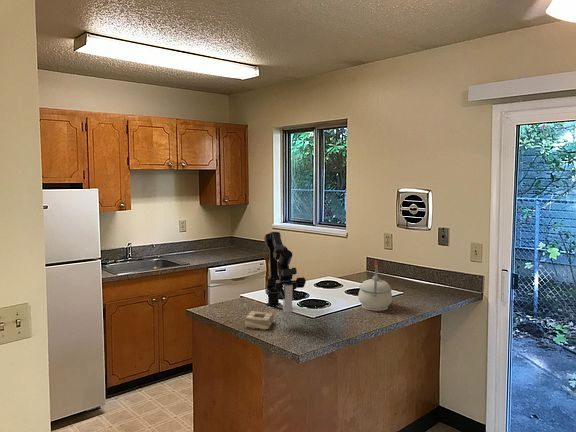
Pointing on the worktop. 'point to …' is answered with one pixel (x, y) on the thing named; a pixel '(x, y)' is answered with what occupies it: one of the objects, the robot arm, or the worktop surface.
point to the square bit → (287, 298)
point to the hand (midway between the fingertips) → (288, 298)
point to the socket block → (259, 320)
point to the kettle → (375, 292)
